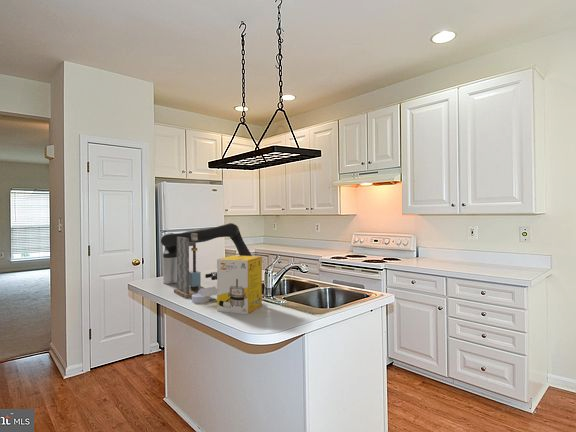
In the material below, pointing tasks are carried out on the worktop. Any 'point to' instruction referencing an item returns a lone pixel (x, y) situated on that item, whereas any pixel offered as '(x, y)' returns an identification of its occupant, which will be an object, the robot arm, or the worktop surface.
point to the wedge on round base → (203, 295)
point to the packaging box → (239, 284)
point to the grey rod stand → (185, 266)
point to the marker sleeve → (194, 278)
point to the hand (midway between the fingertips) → (208, 277)
